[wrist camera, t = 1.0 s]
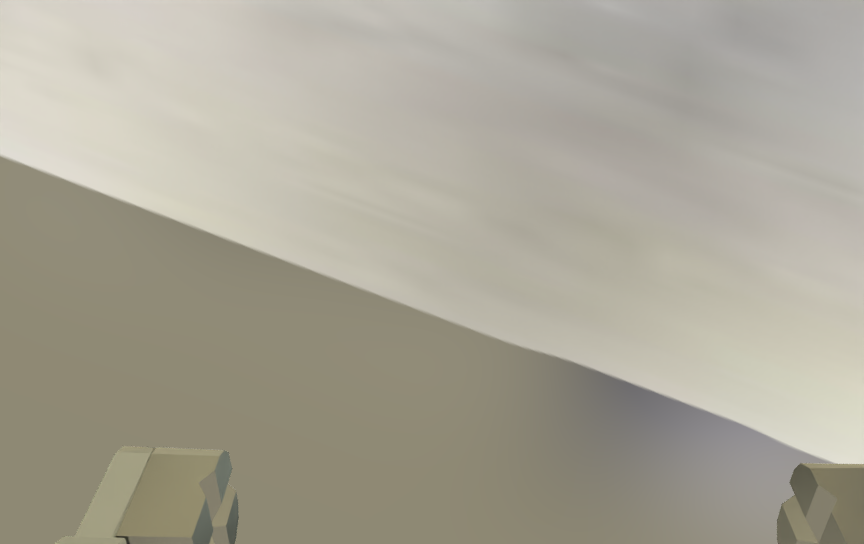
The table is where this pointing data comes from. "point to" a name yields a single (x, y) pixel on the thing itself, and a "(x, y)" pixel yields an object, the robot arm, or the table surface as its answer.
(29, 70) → the table surface
